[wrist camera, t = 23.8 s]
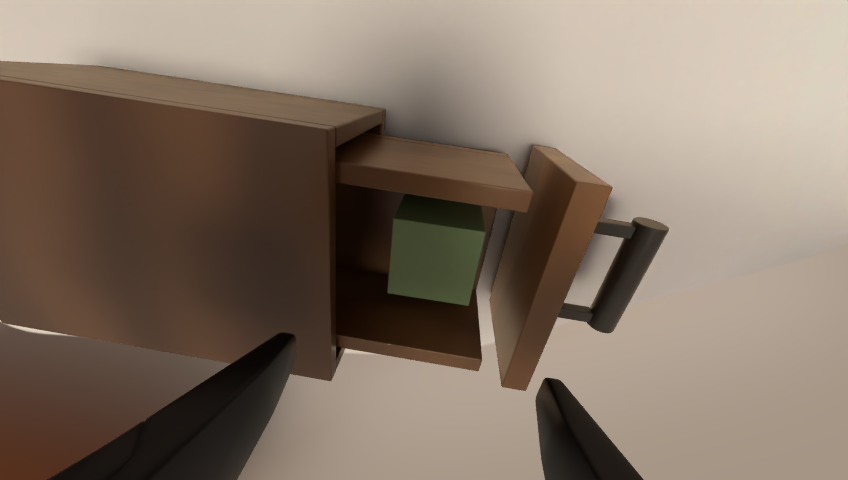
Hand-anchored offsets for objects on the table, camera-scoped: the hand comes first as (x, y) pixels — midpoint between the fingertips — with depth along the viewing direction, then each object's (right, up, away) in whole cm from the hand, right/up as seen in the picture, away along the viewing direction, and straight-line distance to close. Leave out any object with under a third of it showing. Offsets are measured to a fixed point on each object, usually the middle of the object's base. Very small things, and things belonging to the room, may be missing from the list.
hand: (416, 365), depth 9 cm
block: (+1, +4, +9) cm, 10 cm away
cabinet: (-11, +7, +11) cm, 17 cm away
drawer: (+1, +5, +9) cm, 11 cm away
